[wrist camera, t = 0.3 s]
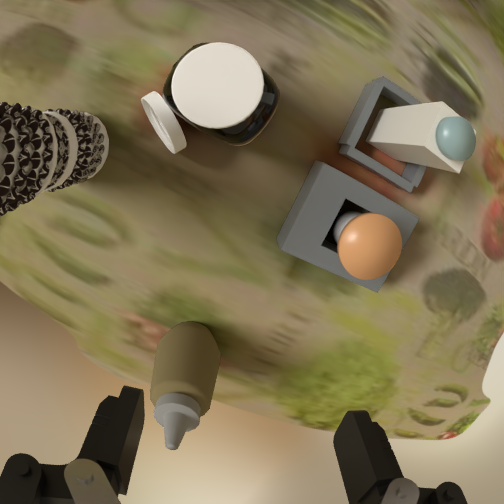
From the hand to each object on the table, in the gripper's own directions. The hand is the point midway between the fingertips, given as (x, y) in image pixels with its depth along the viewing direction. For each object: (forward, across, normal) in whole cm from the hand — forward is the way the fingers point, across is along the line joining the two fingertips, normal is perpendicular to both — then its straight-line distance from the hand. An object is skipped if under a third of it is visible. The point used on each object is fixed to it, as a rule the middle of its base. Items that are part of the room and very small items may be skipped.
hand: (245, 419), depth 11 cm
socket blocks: (+27, -13, -8) cm, 31 cm away
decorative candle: (+27, +21, -7) cm, 35 cm away
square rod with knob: (+27, -15, -14) cm, 34 cm away
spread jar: (+28, +6, -12) cm, 31 cm away
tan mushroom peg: (+24, -12, -3) cm, 27 cm away
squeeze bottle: (+27, +4, +16) cm, 32 cm away
